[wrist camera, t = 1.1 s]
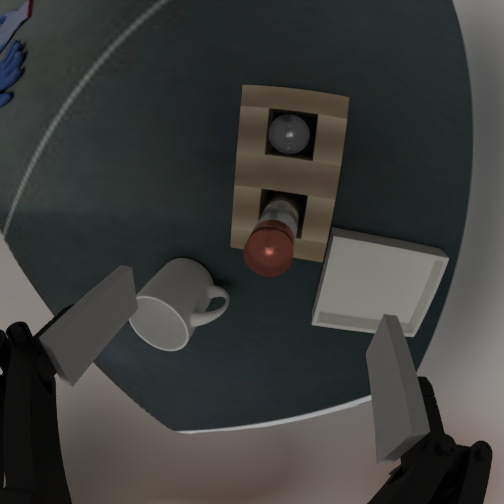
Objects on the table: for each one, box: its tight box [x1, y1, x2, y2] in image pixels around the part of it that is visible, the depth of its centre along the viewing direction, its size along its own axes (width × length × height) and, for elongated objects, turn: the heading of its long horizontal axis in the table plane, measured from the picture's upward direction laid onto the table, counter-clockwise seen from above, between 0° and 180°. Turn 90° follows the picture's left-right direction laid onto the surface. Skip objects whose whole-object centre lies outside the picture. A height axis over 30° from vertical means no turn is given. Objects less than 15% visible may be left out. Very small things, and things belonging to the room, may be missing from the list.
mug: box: [129, 258, 229, 351], centre depth 35 cm, size 9×12×11 cm
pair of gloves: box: [0, 0, 34, 107], centre depth 26 cm, size 32×26×4 cm
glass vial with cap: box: [243, 191, 301, 277], centre depth 26 cm, size 3×3×16 cm
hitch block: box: [231, 85, 349, 262], centre depth 28 cm, size 17×10×6 cm, turn 175°
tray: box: [312, 227, 449, 337], centre depth 33 cm, size 13×16×3 cm
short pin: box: [269, 115, 310, 154], centre depth 25 cm, size 3×3×9 cm
